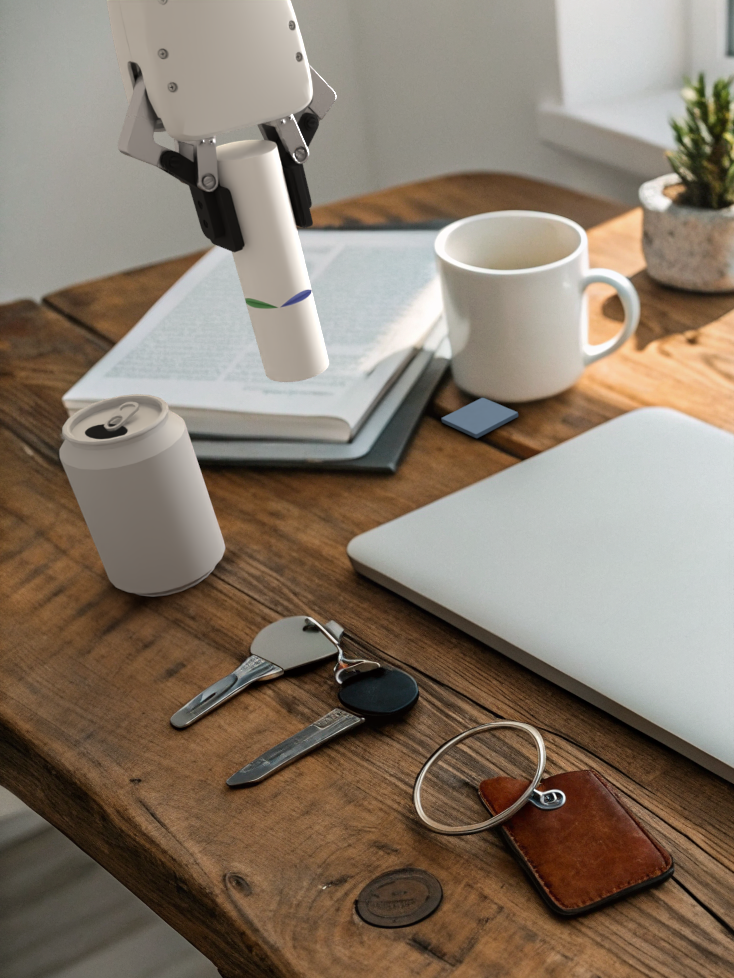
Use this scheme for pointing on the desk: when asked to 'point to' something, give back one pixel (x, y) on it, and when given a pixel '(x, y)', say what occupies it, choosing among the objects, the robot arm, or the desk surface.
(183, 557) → the can
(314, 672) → the desk surface
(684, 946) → the desk surface
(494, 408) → the tile
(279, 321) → the tube
